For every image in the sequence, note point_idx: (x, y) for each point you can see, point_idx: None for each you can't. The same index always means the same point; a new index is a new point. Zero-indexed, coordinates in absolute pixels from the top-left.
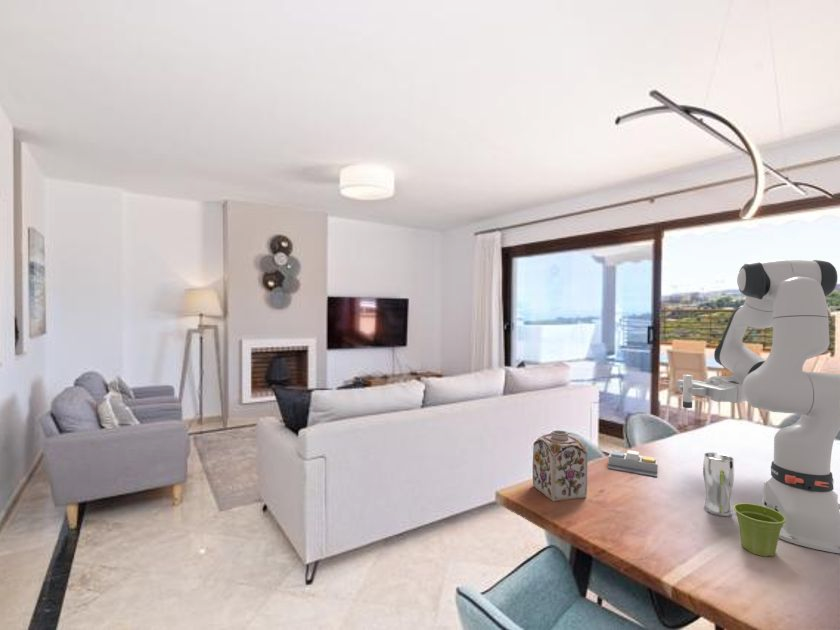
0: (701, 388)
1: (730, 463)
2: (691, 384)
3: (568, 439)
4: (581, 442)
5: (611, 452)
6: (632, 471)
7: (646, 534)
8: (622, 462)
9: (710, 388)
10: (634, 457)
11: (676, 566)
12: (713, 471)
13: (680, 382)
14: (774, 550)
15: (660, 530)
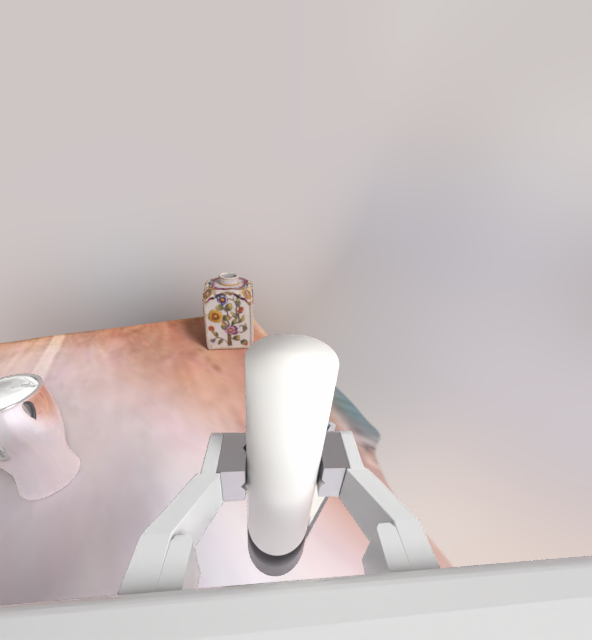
0: (165, 523)
1: None
2: (247, 431)
3: (222, 285)
4: (214, 293)
5: (333, 426)
6: None
7: (111, 356)
8: None
9: (28, 605)
10: None
11: (59, 348)
12: (23, 394)
13: (567, 561)
14: None
15: (103, 369)
